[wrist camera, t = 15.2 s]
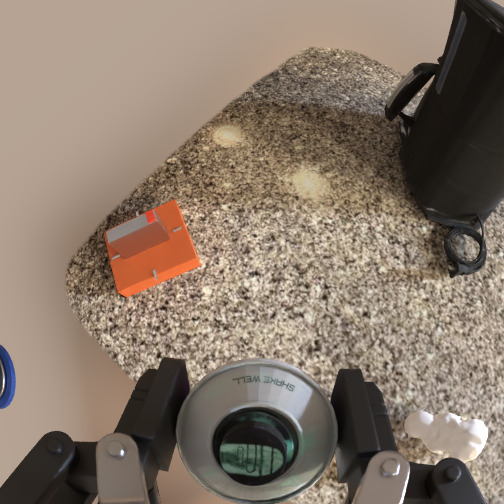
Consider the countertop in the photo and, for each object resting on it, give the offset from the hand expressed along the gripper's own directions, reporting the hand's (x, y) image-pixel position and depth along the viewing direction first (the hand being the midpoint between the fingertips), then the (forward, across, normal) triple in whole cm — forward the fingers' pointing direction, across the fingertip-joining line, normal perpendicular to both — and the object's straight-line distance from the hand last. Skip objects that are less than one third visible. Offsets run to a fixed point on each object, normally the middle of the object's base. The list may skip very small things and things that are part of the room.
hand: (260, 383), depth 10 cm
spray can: (+10, 0, +13) cm, 17 cm away
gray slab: (+29, +17, +7) cm, 35 cm away
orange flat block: (+32, +17, +9) cm, 37 cm away
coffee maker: (+43, -29, -2) cm, 52 cm away
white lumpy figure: (+14, -24, +27) cm, 39 cm away
